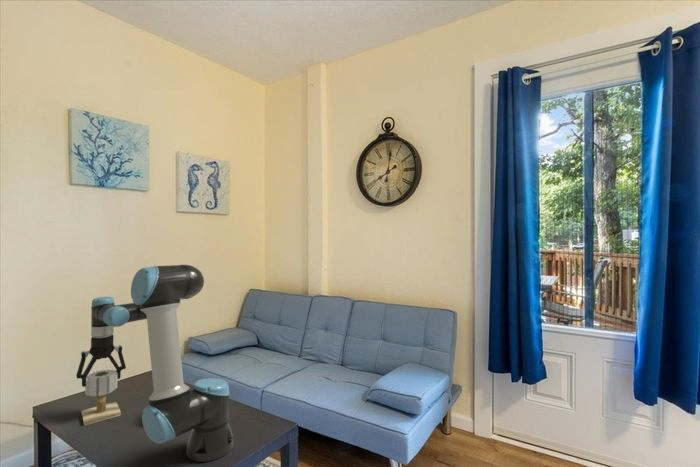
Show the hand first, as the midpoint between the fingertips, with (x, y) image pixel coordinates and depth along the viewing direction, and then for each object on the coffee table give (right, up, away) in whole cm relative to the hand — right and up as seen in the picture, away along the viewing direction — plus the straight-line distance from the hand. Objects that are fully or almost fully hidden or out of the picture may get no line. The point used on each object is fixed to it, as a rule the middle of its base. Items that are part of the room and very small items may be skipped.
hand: (101, 390), depth 143 cm
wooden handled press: (0, -10, 0) cm, 10 cm away
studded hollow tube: (0, 0, 0) cm, 0 cm away
